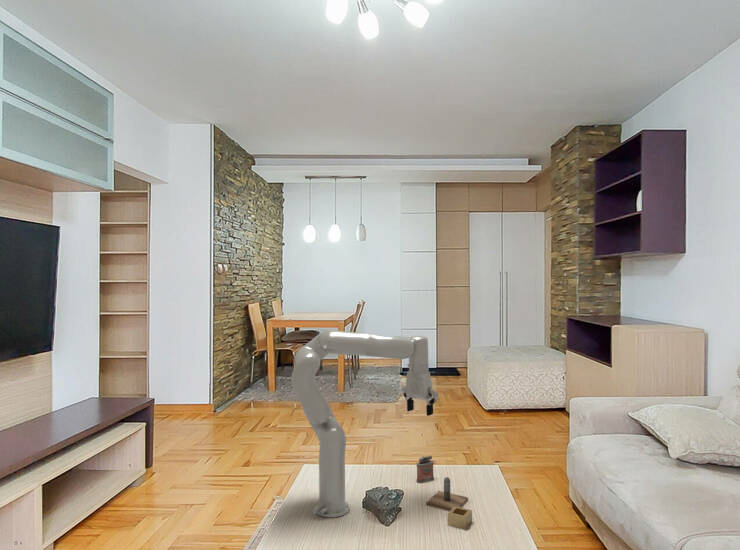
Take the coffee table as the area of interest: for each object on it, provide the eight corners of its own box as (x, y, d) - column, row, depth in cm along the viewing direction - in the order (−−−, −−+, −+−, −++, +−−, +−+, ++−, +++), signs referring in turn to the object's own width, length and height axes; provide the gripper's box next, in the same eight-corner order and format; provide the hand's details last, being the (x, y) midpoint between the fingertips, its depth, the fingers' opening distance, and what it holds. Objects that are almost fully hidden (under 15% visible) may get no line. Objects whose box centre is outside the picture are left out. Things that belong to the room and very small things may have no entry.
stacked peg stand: (456, 512, 179) (456, 486, 179) (426, 505, 185) (425, 479, 185) (467, 500, 189) (467, 475, 189) (438, 493, 195) (438, 469, 195)
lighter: (419, 483, 205) (419, 459, 205) (415, 480, 208) (414, 457, 208) (435, 480, 208) (435, 456, 209) (430, 477, 211) (430, 453, 212)
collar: (465, 529, 166) (465, 517, 166) (447, 525, 170) (447, 513, 170) (472, 521, 172) (472, 510, 172) (454, 517, 175) (454, 506, 175)
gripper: (395, 367, 194) (396, 410, 194) (430, 372, 182) (431, 418, 182) (408, 364, 200) (409, 407, 199) (442, 369, 187) (444, 414, 187)
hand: (420, 412), depth 191 cm, fingers open, 9 cm apart
